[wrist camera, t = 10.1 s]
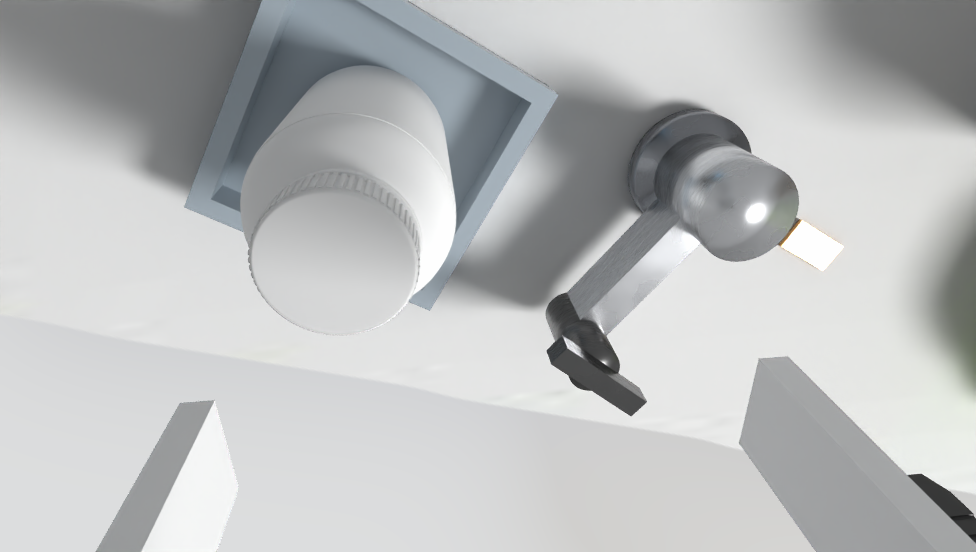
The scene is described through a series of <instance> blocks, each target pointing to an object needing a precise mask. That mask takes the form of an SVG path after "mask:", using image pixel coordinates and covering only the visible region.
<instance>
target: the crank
mask: <svg viewBox="0 0 976 552" xmlns="http://www.w3.org/2000/svg"><path fill="white" fill-rule="evenodd" d="M654 192H655V195H656V198H657V200H656V201H655V202H654V203H653V204H652V205H651V206H650V207H649V208H648V209H647V210H646V211H645V212H644V213H643V214H642V215H641V216H640V217H639V218H638V219H637V221H636V222H635V223H634V224H633V225H632V226H631V227H630V228H629V229H628V230H627V231H626V232H625V233H624V234H623V235H622V236H621V237H620V238H619V239H618V240H617V241H616V242H615V243H614V244H613V245H612V246H611V248H610V249H609V250H608V251H607V252H606V253H605V254H604V255H603V256H602V257H601V258H600V259H599V260H598V261H597V262H596V263H595V264H594V265H593V266H592V267H591V268H590V269H589V270H588V271H587V272H586V273H585V275H584V276H583V277H582V278H581V279H580V280H579V281H578V282H577V283H576V284H575V285H574V286H573V287H572V288H571V289H570V290H569V291H568V292H567V293H564V294H561V295H558V296H557V297H555V298H554V299H553V300H552V301H551V302H550V303H549V305H548V307H547V309H546V319H547V322H548V324H549V327H550V329H551V332H552V335H553V337H554V340H555V342H554V343H553V344H552V345H551V347H550V348H549V349H548V350H547V354H548V356H549V359H550V362H551V364H552V365H553V366H555V367H556V368H558V369H559V370H561V371H562V372H564V373H565V374H567V375H568V376H569V378H570V380H571V382H572V383H573V384H574V385H575V386H576V387H577V388H579V389H582V390H588V391H593V392H594V393H596V394H598V395H599V396H601V397H602V398H604V399H605V400H607V401H608V402H610V403H611V404H613V405H614V406H616V407H617V408H619V409H621V410H622V411H624V412H625V413H627V414H628V415H630V416H632V415H633V414H634V413H635V412H637V411H638V410H639V409H640V408H641V407H642V406H643V405H644V404H645V403H646V402H647V401H646V399H645V397H644V396H643V394H642V392H641V390H640V388H639V387H637V386H636V385H634V384H633V383H632V382H630V381H629V380H627V379H626V378H624V377H623V376H621V375H620V374H618V372H619V368H620V363H619V360H618V357H617V356H616V354H615V352H614V350H613V348H612V346H611V344H610V342H609V341H608V339H607V337H606V335H607V334H608V333H610V332H611V331H612V330H613V329H614V328H615V327H616V326H617V325H618V324H619V323H620V322H621V321H622V320H623V319H624V318H625V317H626V316H627V315H628V314H629V313H630V312H631V311H632V310H633V309H634V308H635V307H636V306H637V305H638V304H639V303H640V302H641V301H642V300H643V299H644V298H645V297H646V296H647V295H648V294H649V293H650V292H651V291H652V290H653V289H654V288H655V287H656V286H658V285H659V284H660V283H661V282H662V281H663V280H664V279H665V278H666V277H667V276H668V275H669V274H670V273H671V272H672V271H673V270H674V269H675V268H676V267H677V266H678V265H679V264H680V263H681V262H682V261H683V260H684V259H685V258H686V257H687V256H688V255H689V254H690V253H691V252H692V251H693V250H694V249H695V248H696V247H697V246H698V245H699V244H700V243H701V244H702V245H703V246H704V247H705V248H706V249H707V250H708V251H709V252H710V253H712V254H713V255H714V256H716V257H718V258H720V259H723V260H726V261H735V262H738V261H746V260H750V259H754V258H756V257H759V256H761V255H763V254H765V253H767V252H768V251H770V250H771V249H772V248H774V247H775V246H776V245H777V244H778V243H779V242H780V241H781V240H782V239H783V238H784V237H785V236H786V235H787V233H788V232H789V230H790V229H791V227H792V225H793V223H794V221H795V218H796V215H797V211H798V205H799V196H798V191H797V188H796V185H795V183H794V182H793V180H792V179H791V178H790V176H789V175H787V174H786V173H785V172H783V171H782V170H780V169H778V168H777V167H775V166H773V165H771V164H769V163H767V162H765V161H764V160H762V159H760V158H758V157H756V156H754V155H753V154H751V153H749V152H747V151H745V150H743V149H742V148H740V147H738V146H736V145H734V144H732V143H731V142H729V141H727V140H725V139H723V138H721V137H719V136H717V135H713V134H696V135H692V136H689V137H686V138H684V139H682V140H680V141H679V142H677V143H676V144H675V145H673V146H672V147H671V148H670V149H669V150H668V151H667V152H666V153H665V155H664V156H663V157H662V159H661V160H660V162H659V164H658V166H657V169H656V172H655V176H654Z"/></svg>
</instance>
